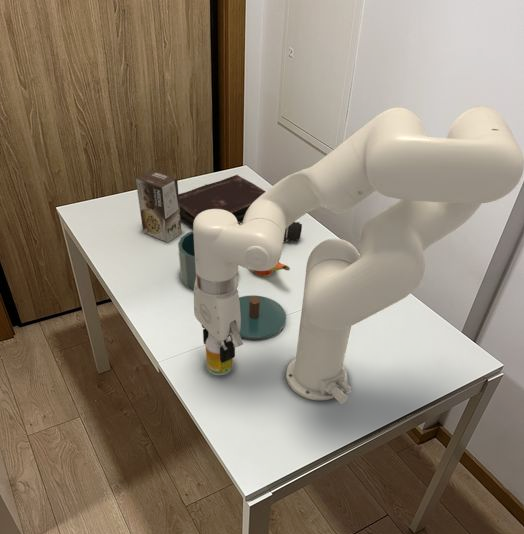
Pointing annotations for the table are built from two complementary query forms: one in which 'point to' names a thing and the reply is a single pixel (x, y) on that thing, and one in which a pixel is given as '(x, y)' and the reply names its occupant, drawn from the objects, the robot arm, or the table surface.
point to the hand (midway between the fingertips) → (219, 349)
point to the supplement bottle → (216, 357)
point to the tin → (187, 260)
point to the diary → (219, 198)
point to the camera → (293, 232)
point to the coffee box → (159, 205)
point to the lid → (260, 317)
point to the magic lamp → (268, 272)
